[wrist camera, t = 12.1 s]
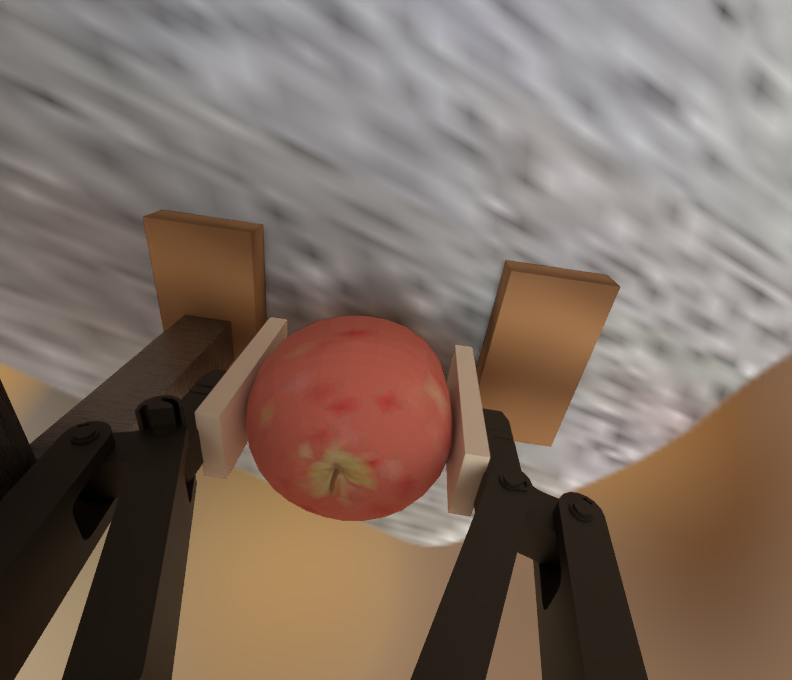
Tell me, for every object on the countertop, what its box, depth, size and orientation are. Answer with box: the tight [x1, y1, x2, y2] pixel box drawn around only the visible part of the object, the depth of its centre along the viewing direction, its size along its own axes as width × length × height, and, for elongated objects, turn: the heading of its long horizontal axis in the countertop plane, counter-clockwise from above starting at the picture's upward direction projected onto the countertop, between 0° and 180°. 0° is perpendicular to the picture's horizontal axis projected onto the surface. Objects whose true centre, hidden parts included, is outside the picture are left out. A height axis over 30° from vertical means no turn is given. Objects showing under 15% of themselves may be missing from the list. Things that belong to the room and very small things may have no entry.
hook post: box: [0, 315, 234, 501], centre depth 14 cm, size 7×2×14 cm, turn 173°
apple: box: [245, 316, 453, 521], centre depth 15 cm, size 7×7×8 cm
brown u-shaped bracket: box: [143, 210, 620, 447], centre depth 22 cm, size 10×22×2 cm, turn 83°
